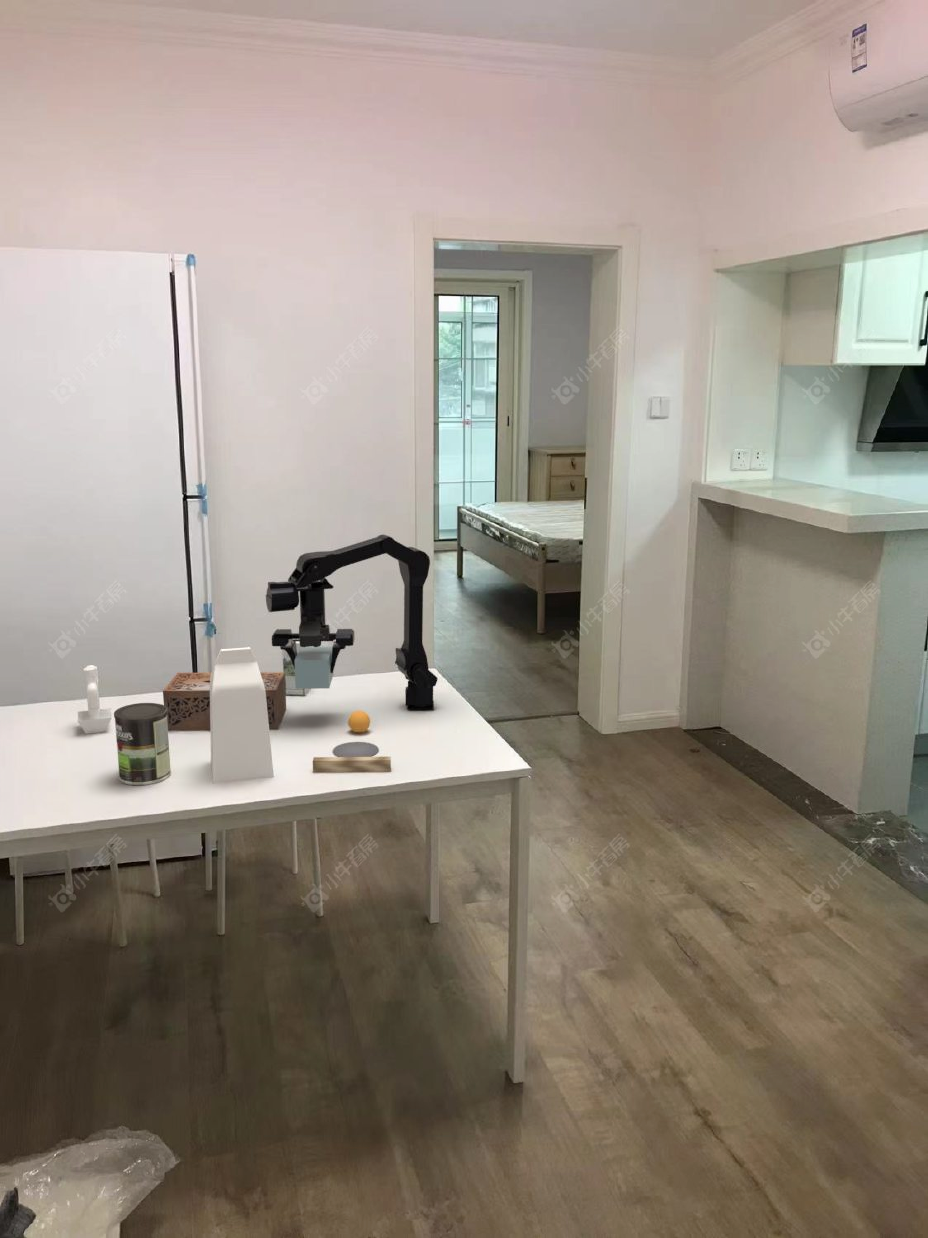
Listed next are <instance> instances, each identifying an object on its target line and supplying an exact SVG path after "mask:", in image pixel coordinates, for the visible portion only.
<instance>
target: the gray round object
mask: <svg viewBox="0 0 928 1238" xmlns="http://www.w3.org/2000/svg"><path fill="white" fill-rule="evenodd" d="M379 751H380V749H379V747H378V745H377V744H373V743H370V742H365V741H351V742H344V743H341V744H338V745H336V746H335V747H334V748H333V749H332V753H333V756H334V757H375V755H377V754H379Z"/></svg>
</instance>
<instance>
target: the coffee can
mask: <svg viewBox="0 0 928 1238" xmlns="http://www.w3.org/2000/svg"><path fill="white" fill-rule="evenodd" d="M113 717H114V721H115V722H114V724H115V736H116V748H117V750H116V751H117V762H118V763H117V764H118V775H119V776H118V780H119V781H120V782H121V783H123V784H126V785H129V786H147V785H154V784H157V783H160V782H163V781H165V780H167V779H168V778H170V776H171V774H172V771H171V759H170V758H171V757H170V743H169V741H170V740H169V731H168V723H167V707H166V706H164V704H162V703H155V702H138V703H132V704H128V705H124V706H121V707H119V708H117V709H116V710H115V711H114V712H113Z"/></svg>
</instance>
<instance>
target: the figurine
mask: <svg viewBox="0 0 928 1238" xmlns="http://www.w3.org/2000/svg"><path fill="white" fill-rule="evenodd" d="M98 674H99V672H98V667H97V666H96V665H93V664H90V665H86V667H85V668H83V675H84V680H85V690H86V700H87V702H86V703H87V710H81V711H77V723H78V724H79V726H80V727H81V729H82V730H83V731H84V733H85V734H86V735H88V734H89V735H91V734H97V733H106V732H107V730H108V727H109V726H110V725H109V724H110V722H111V720H112V709H111V708H101V706H100V705H101V704H100V695H99V678H98V677H99V676H98Z"/></svg>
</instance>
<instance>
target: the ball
mask: <svg viewBox="0 0 928 1238" xmlns="http://www.w3.org/2000/svg"><path fill="white" fill-rule="evenodd" d="M347 722H348V726H349V729H350V730H352V731H353V732H354V733H358V734H359V733H364V732H365V731H367V730H368V729H369V727H370V724H371V719H370V716H369V714H368V713H367V712H365V711H363V710H356V711H354V712H352V713H351V714H350V715H349V717H348V721H347Z"/></svg>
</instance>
